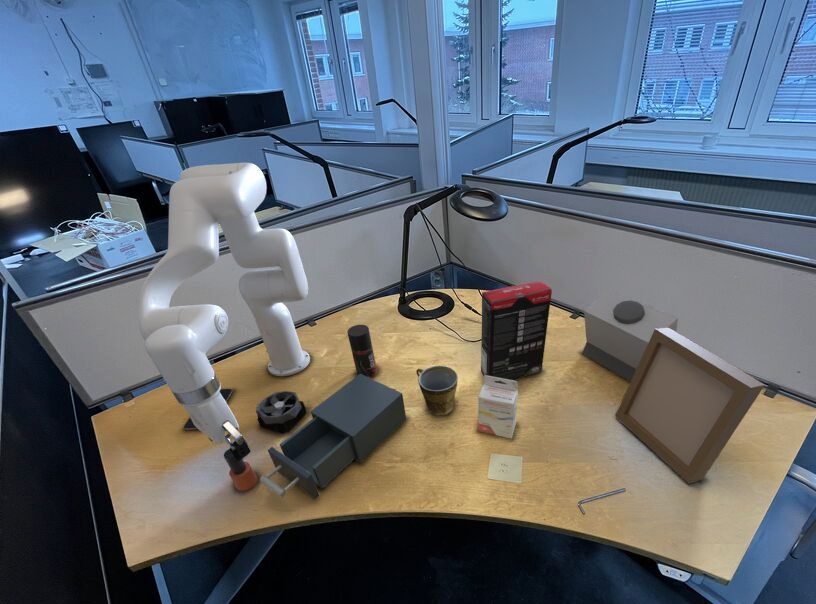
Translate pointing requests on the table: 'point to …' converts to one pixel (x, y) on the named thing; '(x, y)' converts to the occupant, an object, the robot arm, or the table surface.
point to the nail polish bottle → (240, 472)
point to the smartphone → (225, 395)
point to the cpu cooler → (280, 411)
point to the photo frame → (685, 402)
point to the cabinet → (363, 413)
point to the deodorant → (362, 350)
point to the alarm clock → (621, 331)
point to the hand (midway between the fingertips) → (230, 446)
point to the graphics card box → (514, 330)
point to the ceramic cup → (438, 388)
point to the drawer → (311, 457)
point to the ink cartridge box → (497, 406)
